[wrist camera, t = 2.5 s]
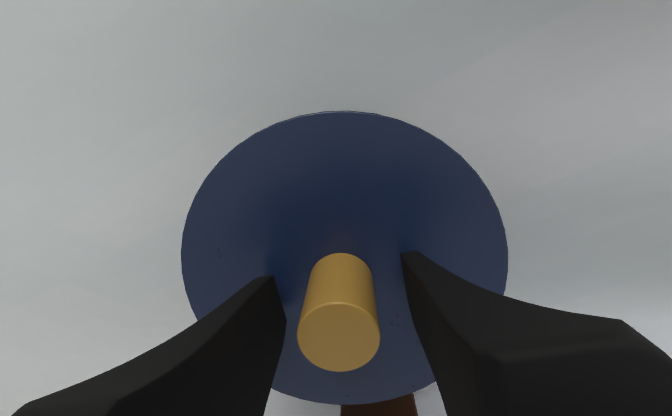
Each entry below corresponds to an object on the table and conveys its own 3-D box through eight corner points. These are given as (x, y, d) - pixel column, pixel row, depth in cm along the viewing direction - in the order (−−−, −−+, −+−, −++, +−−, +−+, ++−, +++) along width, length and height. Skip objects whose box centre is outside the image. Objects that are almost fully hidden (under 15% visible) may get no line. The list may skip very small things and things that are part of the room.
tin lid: (403, 419, 15) (423, 532, 11) (160, 323, 14) (83, 410, 10) (560, 198, 12) (674, 244, 8) (253, 48, 11) (193, 9, 7)
